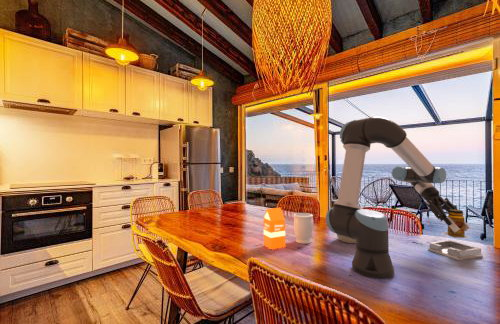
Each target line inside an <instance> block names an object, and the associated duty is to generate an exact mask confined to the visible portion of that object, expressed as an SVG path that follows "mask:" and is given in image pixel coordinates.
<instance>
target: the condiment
mask: <svg viewBox="0 0 500 324" xmlns="http://www.w3.org/2000/svg"><path fill="white" fill-rule="evenodd" d="M448 211H449V213H448V212H447V214H448V215H447V217H450V219H451V220H452V221H453V222H454V223H455V224H456V225H457V226H458V228H459V229H460V230H458V231H457V232H455V233H454V232H453V230H452V229H451V228H450V227H449V226H448V225H447V232H440V233H441V234H443V235H445V236H449V237H451V238H458V239H459V238H460V239H463V238H464V239H465V238H466V239H467V238H469V236H467V235H465V232H466V231H465V229H464V228H465V227H464V225H465V224H464V221H465V216H464V211H463V210H462V209H458V210H456V209H450V210H448Z"/></svg>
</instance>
